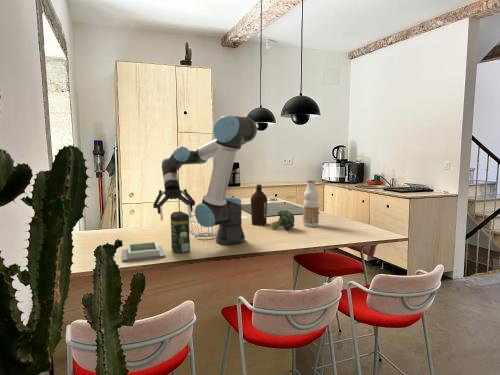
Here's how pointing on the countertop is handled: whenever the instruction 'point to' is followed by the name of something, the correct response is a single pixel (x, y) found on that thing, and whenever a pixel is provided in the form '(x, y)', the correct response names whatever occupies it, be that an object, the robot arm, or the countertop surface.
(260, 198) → the olive oil
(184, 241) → the coffee jar
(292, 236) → the countertop surface
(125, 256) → the jar dock
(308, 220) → the fruit juice
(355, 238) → the countertop surface
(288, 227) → the vegetable
